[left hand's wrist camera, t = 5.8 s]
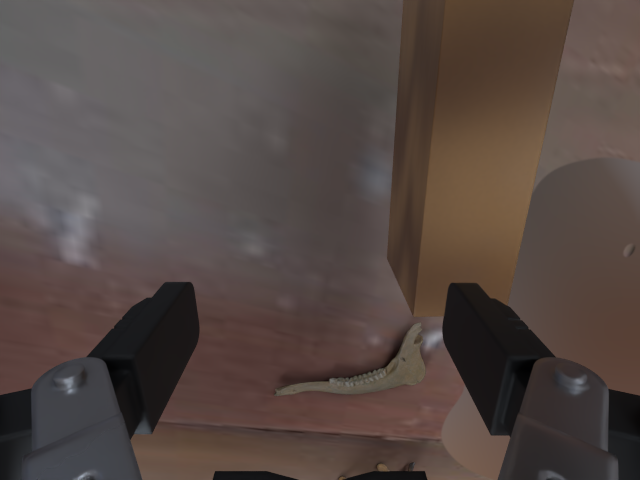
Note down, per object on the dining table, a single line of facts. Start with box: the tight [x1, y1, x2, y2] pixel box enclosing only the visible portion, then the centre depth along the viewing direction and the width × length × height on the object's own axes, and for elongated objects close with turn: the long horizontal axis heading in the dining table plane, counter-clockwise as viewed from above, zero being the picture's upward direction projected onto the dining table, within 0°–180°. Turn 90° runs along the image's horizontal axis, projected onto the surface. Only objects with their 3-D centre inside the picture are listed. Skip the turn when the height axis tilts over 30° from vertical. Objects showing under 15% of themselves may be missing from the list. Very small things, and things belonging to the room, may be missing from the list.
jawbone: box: [274, 322, 426, 396], centre depth 45 cm, size 9×20×2 cm, turn 122°
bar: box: [387, 0, 574, 317], centre depth 20 cm, size 26×6×8 cm, turn 1°
